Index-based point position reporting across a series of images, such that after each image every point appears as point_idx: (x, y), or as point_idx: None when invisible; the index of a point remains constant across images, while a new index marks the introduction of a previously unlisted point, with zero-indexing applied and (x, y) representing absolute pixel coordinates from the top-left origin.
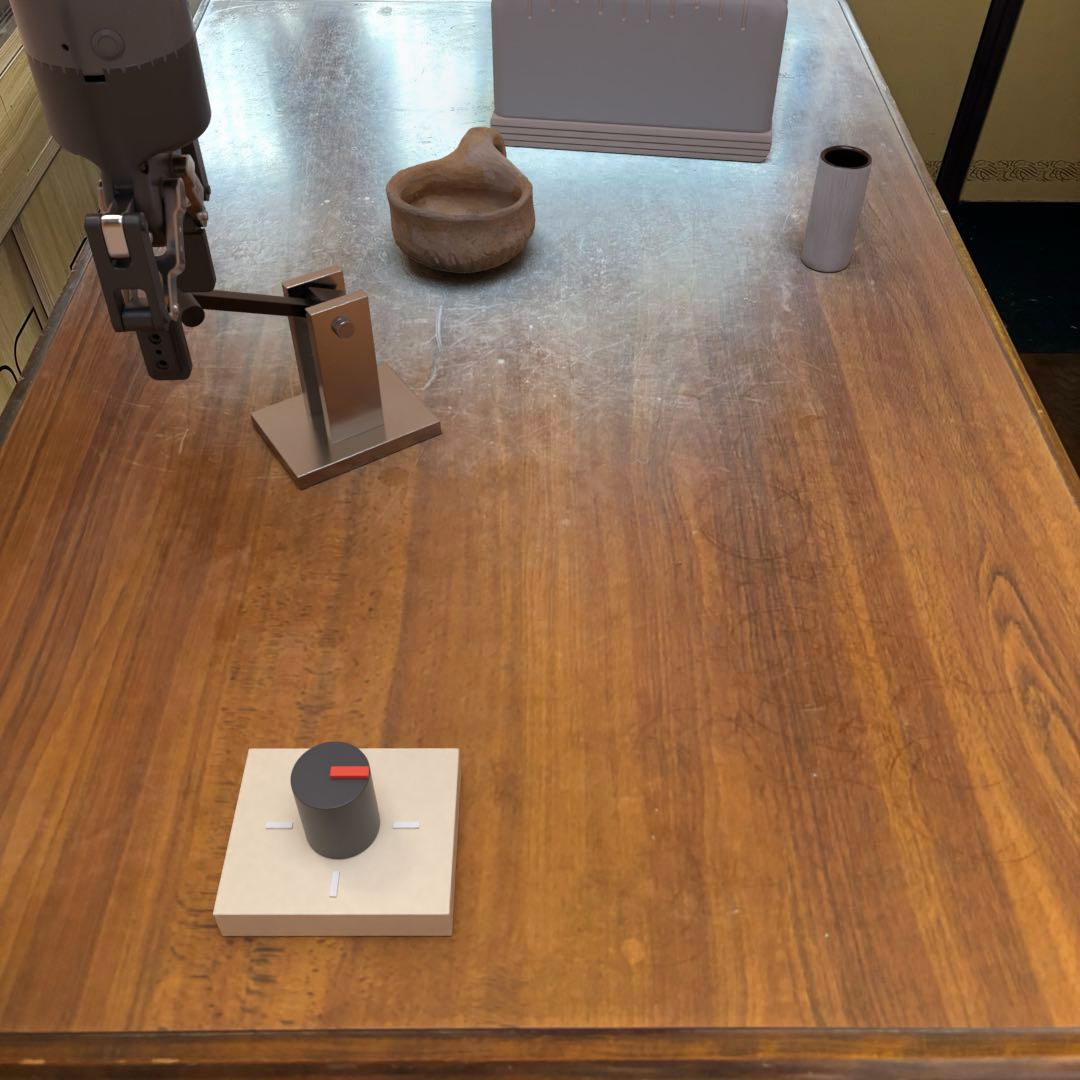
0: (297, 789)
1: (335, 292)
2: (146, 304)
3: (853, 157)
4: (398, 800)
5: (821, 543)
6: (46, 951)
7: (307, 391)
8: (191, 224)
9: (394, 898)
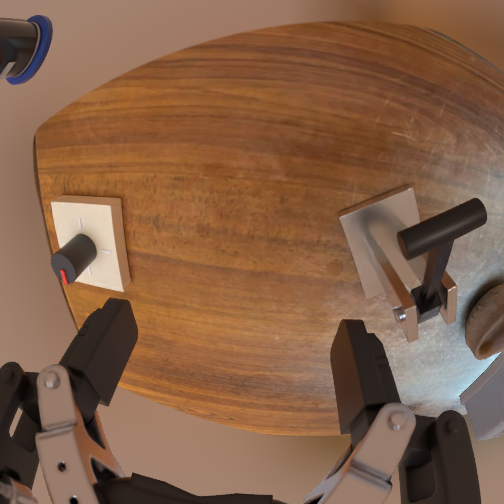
0: (54, 256)
1: (433, 314)
2: (36, 416)
3: None
4: (98, 268)
5: (249, 396)
6: (53, 129)
7: None
8: (354, 440)
9: None
